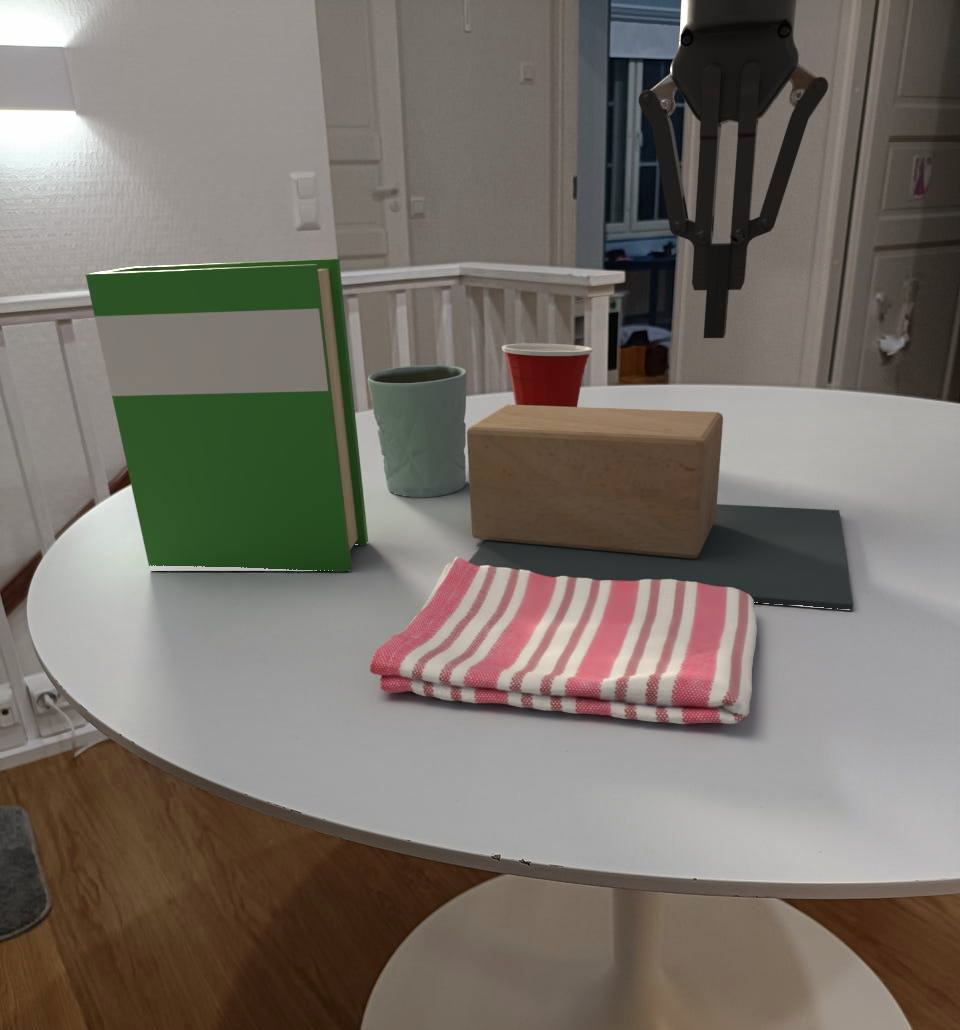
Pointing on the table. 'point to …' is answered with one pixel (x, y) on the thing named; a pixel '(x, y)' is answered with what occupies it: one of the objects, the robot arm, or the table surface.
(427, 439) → the green ceramic cup
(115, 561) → the table surface
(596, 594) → the dish towel
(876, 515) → the table surface
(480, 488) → the wooden block
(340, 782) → the table surface
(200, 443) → the hardback book
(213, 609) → the table surface
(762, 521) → the mat
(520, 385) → the plastic cup
